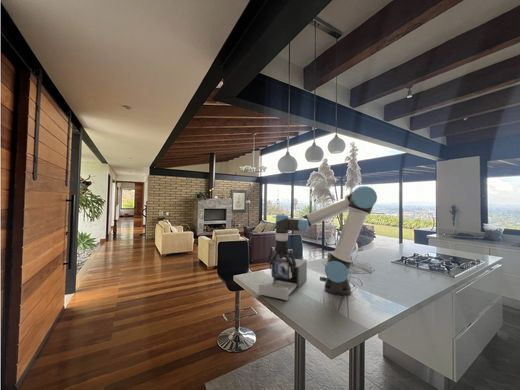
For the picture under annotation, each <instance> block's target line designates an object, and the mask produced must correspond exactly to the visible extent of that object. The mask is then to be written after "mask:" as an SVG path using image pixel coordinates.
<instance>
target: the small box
mask: <svg viewBox="0 0 520 390" xmlns="http://www.w3.org/2000/svg"><path fill="white" fill-rule="evenodd" d="M272 259H273V258H272ZM272 259H271V260H272ZM289 267H290V265H289V262H288V261H287V260H286V259H281V258H280V257H277V258H276V259H273V260H272V275H271V278H273V277H274V278H280V279H286V280H289Z"/></svg>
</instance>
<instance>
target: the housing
mask: <svg viewBox="0 0 520 390" xmlns="http://www.w3.org/2000/svg"><path fill="white" fill-rule="evenodd" d="M289 258H290V260H291V257H289ZM280 259H286V258H285V257H284V256H283V257H282V258H280ZM291 261H292V260H291ZM295 261H296V266H295V267H293V273H292V278H290V279H289V280H286V279H280V278H274V277H272V278H273V280H272V282H274V281H275V280H279V281H284V282H290V283H295V284H297V287H296V288H295V289H296V290H299V289H300V288H301V287H302V286H303V285H304V283H306V282H307V280H308V276H307V275H308V272H307V271H308V267H307V266H308V264H307V262H308V261H307V260H306V259H300V258H295Z"/></svg>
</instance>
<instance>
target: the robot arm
mask: <svg viewBox="0 0 520 390" xmlns="http://www.w3.org/2000/svg"><path fill="white" fill-rule="evenodd" d="M377 199H378V196H377V191H375V190H374V188H372V187H371V186H367V185H360V186H357V187H356V188H355V189H354V190H353V191H352V192H350V193H349V194H346V195H345V196H344V198H342V199H340V200H337V201H335V202H333V203H330V204H328V205H326V206H324V207H321V208H319V209H316V210H315V211H312V212H309V213H307V214H305V215H303V216H300V217H297V218H293V217H289V215H288V214H283V213H282V214H276V216H275V246H273V247H270V252H269V255H268V258H267V261H266V262H267V263H268V264H269V270H271V271H270V273H271V276H272V260H273V259H276V258H278V256H283V257H285V258H286V260H287V261H288V262H289V265H290V267H289V279H290V278H292V273H293V267H295V266H296V261H295V259H296V258H295V255H294V249H292V248H291V249H289V248H288V247H289V241H288V239H289V232H290V231H293V232H308V230H309V227H311V226H314V225H316V224H319V223H321V222H323V221H326V220H328V219H331V218H333V217H335V216H338V215H340V214H342V213H345V212H348V214H347V217H346V220H345V223H344V225H343V227H342V230H341V232H340V235H339V238H338V240H337V244H336V246H335V249H334V250H332V251H328V252H327V254H326V257H327V259H326V260H327V261H326V265H325V267H324V272H325V276H326V280H325V282H324V290H325V291H326V292H328V293H329V294H332V295H337V296H348V295H350V294H351V292H352V287H351V284H350V281H349V279H348V278H349V271H350V268H351V265H352V263H353V260H352V258H351V256H352V254H353V251H354V248H355V246H356V243H357V242H358V238H359V235H360V232H361V231H362V227H363V225H364V223H365V220H366V217H367V216H369V215H371V213H372V210H373V208H374V205H376V203H377ZM274 253H275V254H274ZM288 253H289V254H288ZM290 258H291V260H292V261H291V260H290Z"/></svg>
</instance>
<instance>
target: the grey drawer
mask: <svg viewBox="0 0 520 390" xmlns="http://www.w3.org/2000/svg"><path fill="white" fill-rule="evenodd" d="M296 287H297V284H295V283H290V282H284V281H279V280H275V281H274V282H273V281H272V282H271V283H265V282H260V283H259V284H258V294H259V295H262V296H265V297H271V298H275V299H279V300H283V301H288V300H289V296H290V294H291V293H292V292H293V291H294V290H295V289H296Z"/></svg>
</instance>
